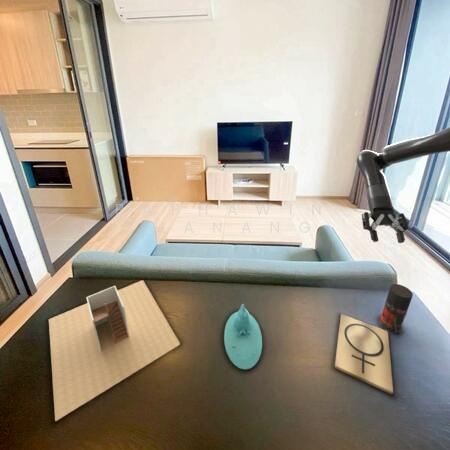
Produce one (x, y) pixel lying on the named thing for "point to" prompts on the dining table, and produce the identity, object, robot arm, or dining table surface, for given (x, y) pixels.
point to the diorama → (243, 339)
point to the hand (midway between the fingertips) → (388, 242)
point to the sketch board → (364, 353)
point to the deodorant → (395, 308)
